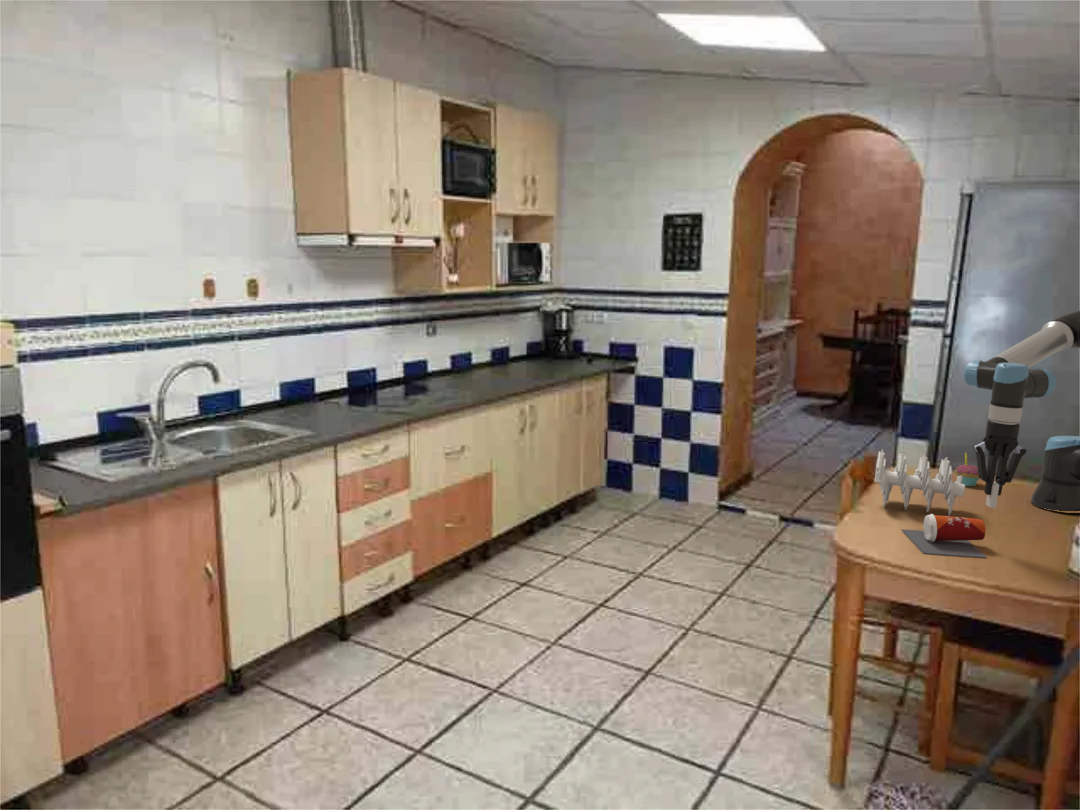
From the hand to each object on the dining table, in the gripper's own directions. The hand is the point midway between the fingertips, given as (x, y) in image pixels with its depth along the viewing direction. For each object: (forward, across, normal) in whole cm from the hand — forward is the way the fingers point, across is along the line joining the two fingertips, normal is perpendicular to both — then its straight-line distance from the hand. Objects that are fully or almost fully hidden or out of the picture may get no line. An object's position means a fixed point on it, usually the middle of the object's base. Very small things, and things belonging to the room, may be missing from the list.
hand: (990, 506), depth 217 cm
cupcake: (+12, -20, -62) cm, 66 cm away
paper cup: (+7, +1, 0) cm, 7 cm away
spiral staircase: (+12, +8, -30) cm, 33 cm away
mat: (+12, +11, 0) cm, 16 cm away
